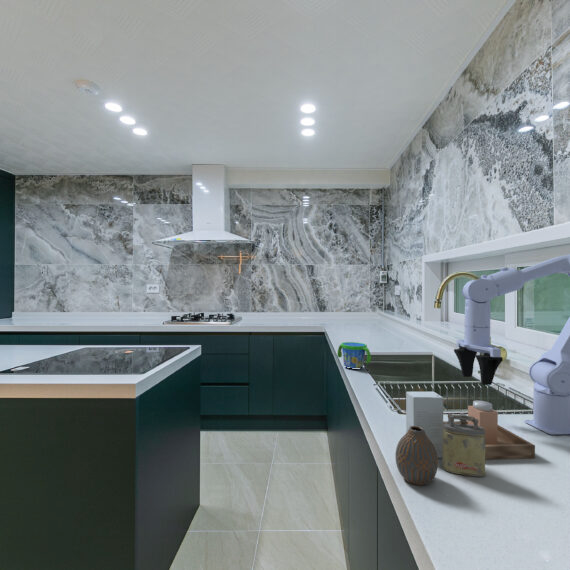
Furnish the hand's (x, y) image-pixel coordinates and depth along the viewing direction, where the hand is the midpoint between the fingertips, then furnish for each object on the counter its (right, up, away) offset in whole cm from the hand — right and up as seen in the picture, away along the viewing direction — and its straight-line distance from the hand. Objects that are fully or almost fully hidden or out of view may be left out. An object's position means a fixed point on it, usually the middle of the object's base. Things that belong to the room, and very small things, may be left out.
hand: (476, 380), depth 88 cm
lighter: (-16, -10, -25) cm, 31 cm away
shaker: (-6, -10, -13) cm, 17 cm away
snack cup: (-20, -11, +58) cm, 62 cm away
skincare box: (-21, -10, -18) cm, 29 cm away
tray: (-6, -10, -13) cm, 18 cm away
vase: (-26, -10, -28) cm, 39 cm away
